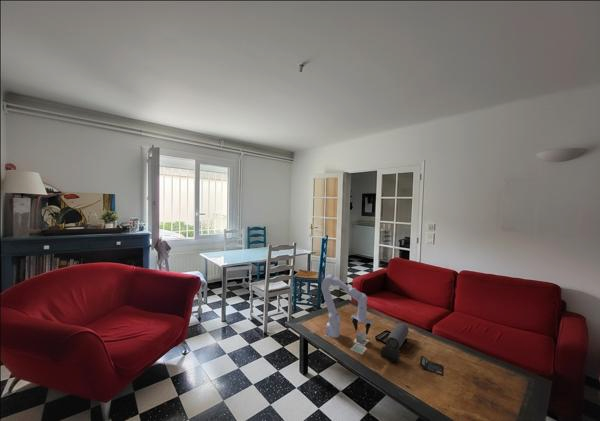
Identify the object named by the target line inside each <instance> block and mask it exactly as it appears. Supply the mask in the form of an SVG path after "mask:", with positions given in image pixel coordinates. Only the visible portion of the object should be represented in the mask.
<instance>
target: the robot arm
mask: <svg viewBox="0 0 600 421" xmlns="http://www.w3.org/2000/svg"><path fill="white" fill-rule="evenodd" d="M331 286H332V287H335V286H337V287H339V288H341V289H342V290H344V291H345V292H347V295H348V296H350V297H351V298H352V299H354V300H355V301H357V303H358V304H357V315H354V314H352V315H351V318H350V319H352V320H351V322H352V323H353V327H354V331H355V332H356V331H357V330H358V323H365V325H364V326H365V333H366V335H368V334H369V330H370V327H371V326H373V325H374V321H372V320H370V319H368V318H367V311H368V310H367V308H368V306H367V305H368V304H367V302H368V296H367V295H366V293H363V292H360V291H359V290H357V288H356V287H351V286H348V285H347V284H346V283H345V282H344V281H342V280H341V279H340V278H338V276H336V275H334V274H333V273H329V274H328V273H327V275H326V276H325V277H324V279H323V280H322V282H321V288H320V289H321V292H322V296H323V299H324V301H325V304H326V308H327V311H328V322H327V323H326V325H325V336H324V337H326V338H330V337H331V338H334V339H337V338H339V337H340V334H341V324H340V323H341V322H340V321H341V315H340V314H339V312H338V309H337V308H336V306H335V303H334V300H333V297H332V294H331V290H330V287H331Z"/></svg>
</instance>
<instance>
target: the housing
mask: <svg viewBox="0 0 600 421" xmlns="http://www.w3.org/2000/svg"><path fill="white" fill-rule="evenodd" d="M355 339H356V342H358V343H360V344H363V343H364V342H365V341H366V340H367V334H366V332H364V331H361V330H359V332H358V333H357V334H356V338H355ZM360 344H359V345H360Z"/></svg>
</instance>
